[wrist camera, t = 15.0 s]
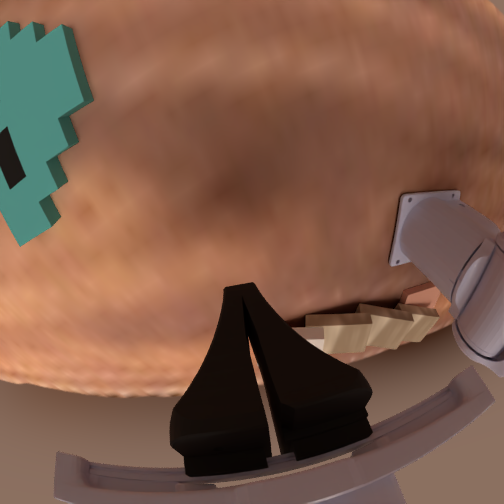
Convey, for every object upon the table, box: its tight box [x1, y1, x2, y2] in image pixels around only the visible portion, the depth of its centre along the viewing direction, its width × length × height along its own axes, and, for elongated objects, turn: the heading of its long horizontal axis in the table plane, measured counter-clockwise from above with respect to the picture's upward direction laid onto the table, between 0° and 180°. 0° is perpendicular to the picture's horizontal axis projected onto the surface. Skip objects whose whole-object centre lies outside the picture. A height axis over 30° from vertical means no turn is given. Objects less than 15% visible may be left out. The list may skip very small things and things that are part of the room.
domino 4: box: [395, 303, 440, 342], centre depth 30 cm, size 2×5×7 cm
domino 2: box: [355, 303, 414, 349], centre depth 28 cm, size 2×5×7 cm
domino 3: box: [399, 282, 440, 309], centre depth 31 cm, size 2×5×7 cm
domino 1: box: [305, 313, 373, 354], centre depth 28 cm, size 2×5×7 cm
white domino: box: [257, 327, 324, 364], centre depth 27 cm, size 2×5×7 cm
